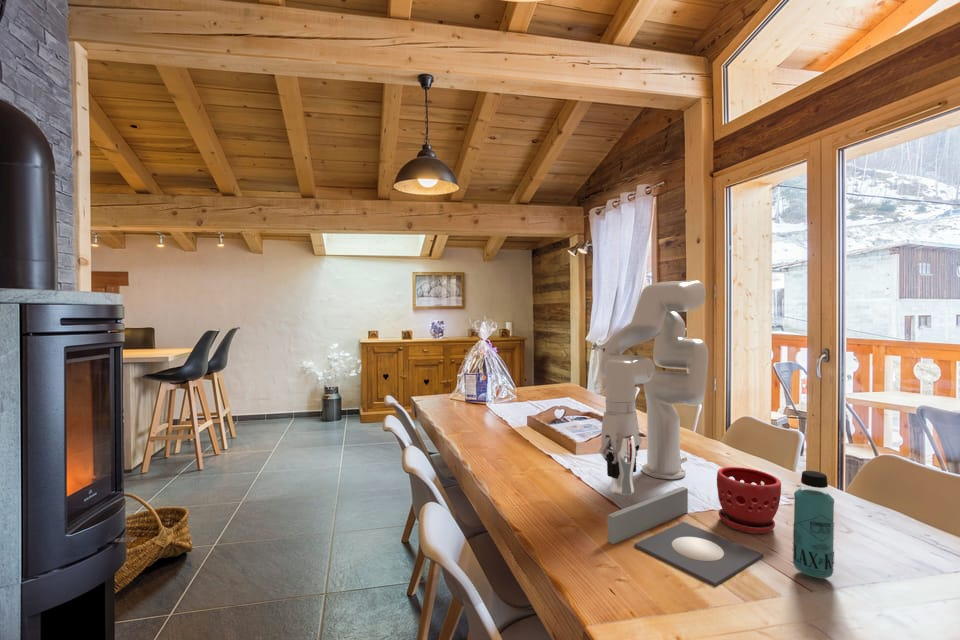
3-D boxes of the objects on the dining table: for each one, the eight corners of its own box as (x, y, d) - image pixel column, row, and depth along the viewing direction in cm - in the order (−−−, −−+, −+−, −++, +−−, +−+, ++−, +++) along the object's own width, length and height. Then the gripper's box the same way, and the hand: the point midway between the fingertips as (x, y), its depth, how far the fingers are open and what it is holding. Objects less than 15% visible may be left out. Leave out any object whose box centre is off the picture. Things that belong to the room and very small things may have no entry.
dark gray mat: (683, 524, 112) (683, 521, 112) (763, 556, 97) (763, 553, 97) (634, 546, 102) (634, 543, 102) (715, 586, 87) (715, 582, 87)
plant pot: (758, 543, 103) (758, 489, 102) (705, 520, 114) (704, 471, 114) (793, 530, 109) (793, 478, 109) (739, 509, 120) (739, 462, 120)
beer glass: (637, 497, 121) (636, 439, 120) (609, 495, 122) (608, 438, 121) (634, 486, 127) (633, 431, 127) (607, 484, 129) (606, 430, 128)
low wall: (682, 510, 120) (682, 486, 120) (687, 512, 119) (687, 488, 119) (607, 541, 105) (607, 514, 104) (613, 544, 103) (613, 517, 103)
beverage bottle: (784, 568, 93) (784, 467, 92) (816, 566, 94) (816, 466, 93) (810, 588, 86) (810, 479, 86) (844, 585, 87) (844, 478, 87)
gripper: (630, 399, 131) (631, 462, 132) (586, 409, 122) (588, 477, 123) (653, 403, 125) (654, 470, 126) (609, 414, 116) (611, 486, 116)
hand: (621, 473), depth 124 cm, fingers closed on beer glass, 6 cm apart
